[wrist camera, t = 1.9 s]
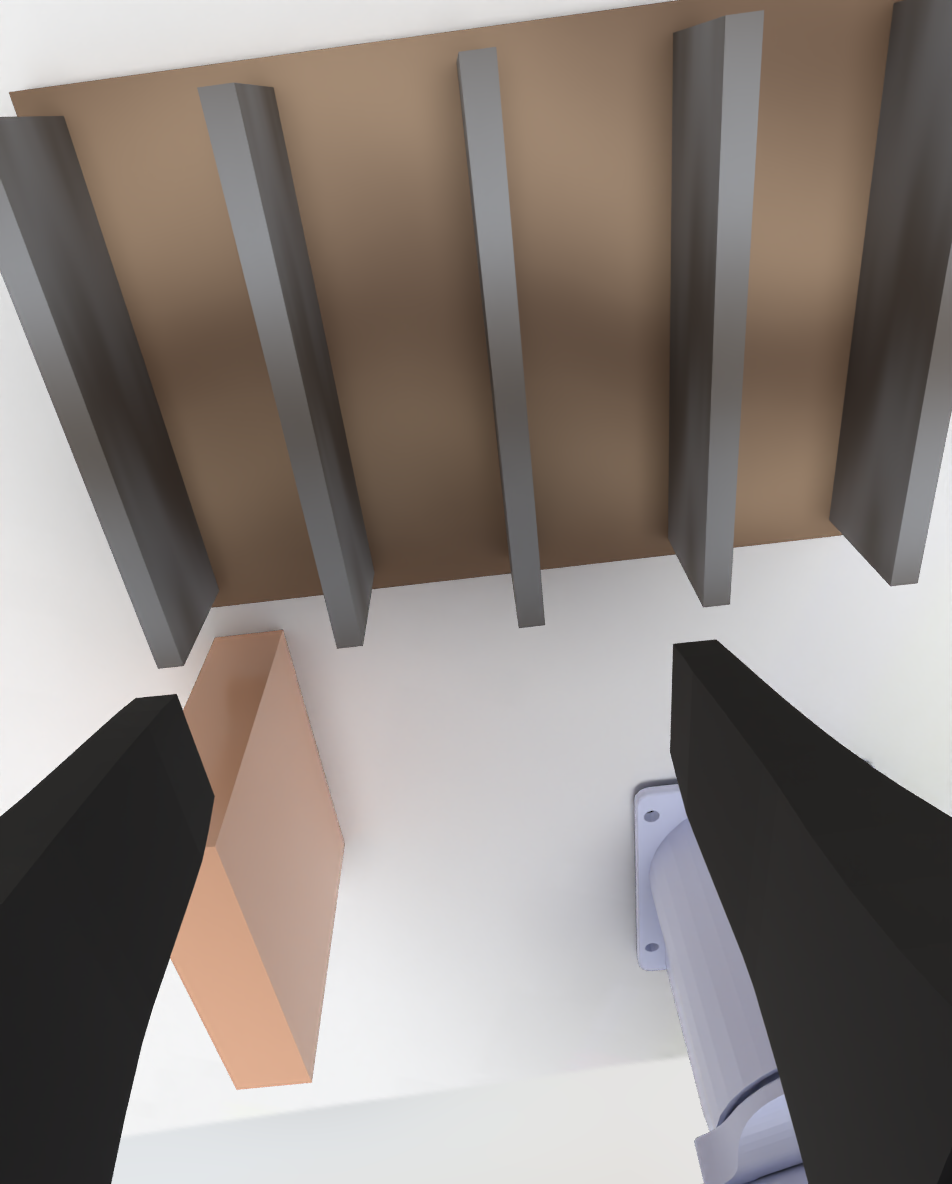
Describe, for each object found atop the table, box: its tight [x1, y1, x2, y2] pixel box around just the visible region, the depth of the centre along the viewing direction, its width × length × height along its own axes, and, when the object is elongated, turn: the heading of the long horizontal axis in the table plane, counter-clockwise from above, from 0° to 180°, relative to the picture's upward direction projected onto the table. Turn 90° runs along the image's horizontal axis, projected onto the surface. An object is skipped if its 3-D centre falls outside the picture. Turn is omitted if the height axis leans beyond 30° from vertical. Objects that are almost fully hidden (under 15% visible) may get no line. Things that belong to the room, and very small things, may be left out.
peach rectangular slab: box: [170, 630, 345, 1090], centre depth 22 cm, size 9×2×8 cm, turn 7°
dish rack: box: [0, 0, 952, 669], centre depth 17 cm, size 12×18×4 cm, turn 97°
